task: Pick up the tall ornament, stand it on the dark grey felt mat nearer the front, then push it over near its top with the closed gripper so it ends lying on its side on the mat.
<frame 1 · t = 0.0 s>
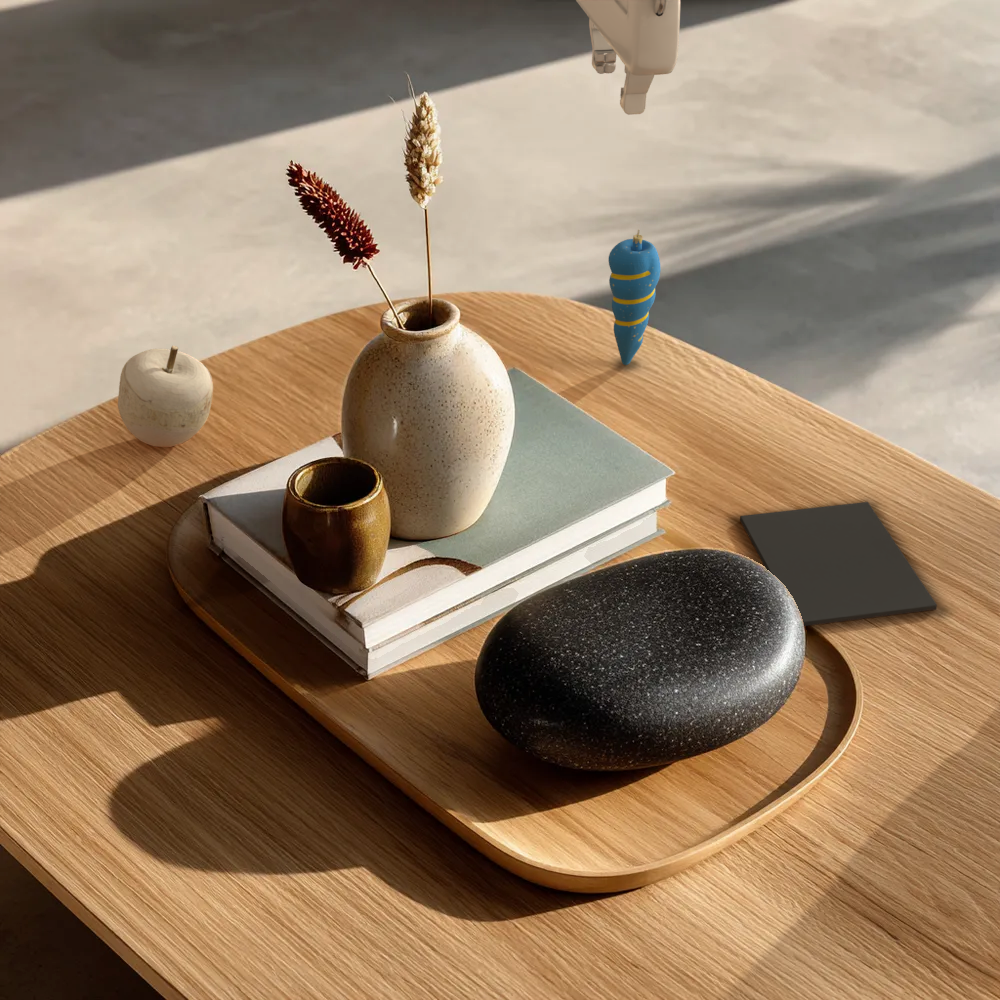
hand: (617, 90, 113), 31 cm above the table, tool pointing down, fingers open, 8 cm apart
decorative object: (173, 440, 126), on the table
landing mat: (833, 563, 113), on the table
ornament: (625, 365, 138), on the table
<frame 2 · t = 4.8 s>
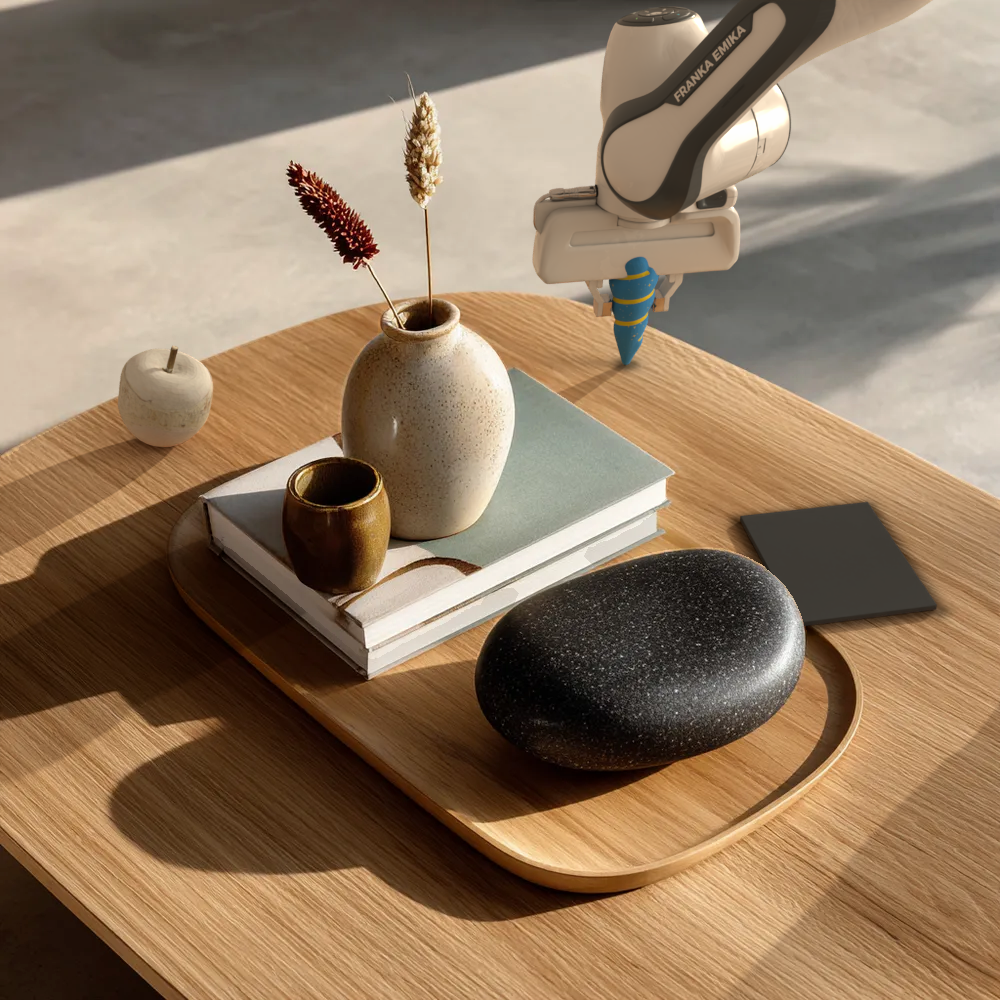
hand: (630, 311, 134), 6 cm above the table, tool pointing down, fingers closed on ornament, 4 cm apart
ornament: (625, 364, 138), on the table, touching gripper
everything else where it was.
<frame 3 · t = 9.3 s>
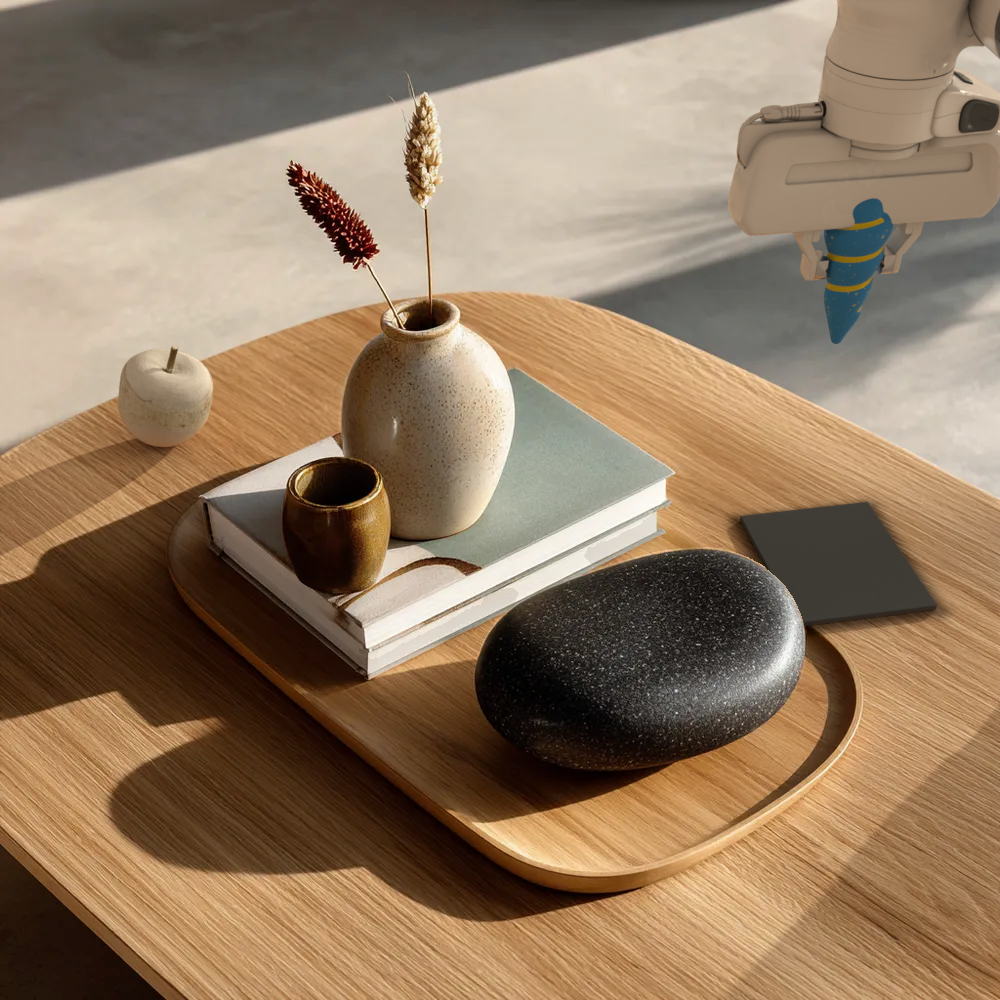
hand: (849, 273, 103), 24 cm above the table, tool pointing down, fingers closed on ornament, 4 cm apart
ornament: (835, 343, 107), point 18 cm above the table, touching gripper
everything else where it was.
when the fingers open (6 cm above the table, at t = 13.8 s): ornament stays where it is, resting on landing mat.
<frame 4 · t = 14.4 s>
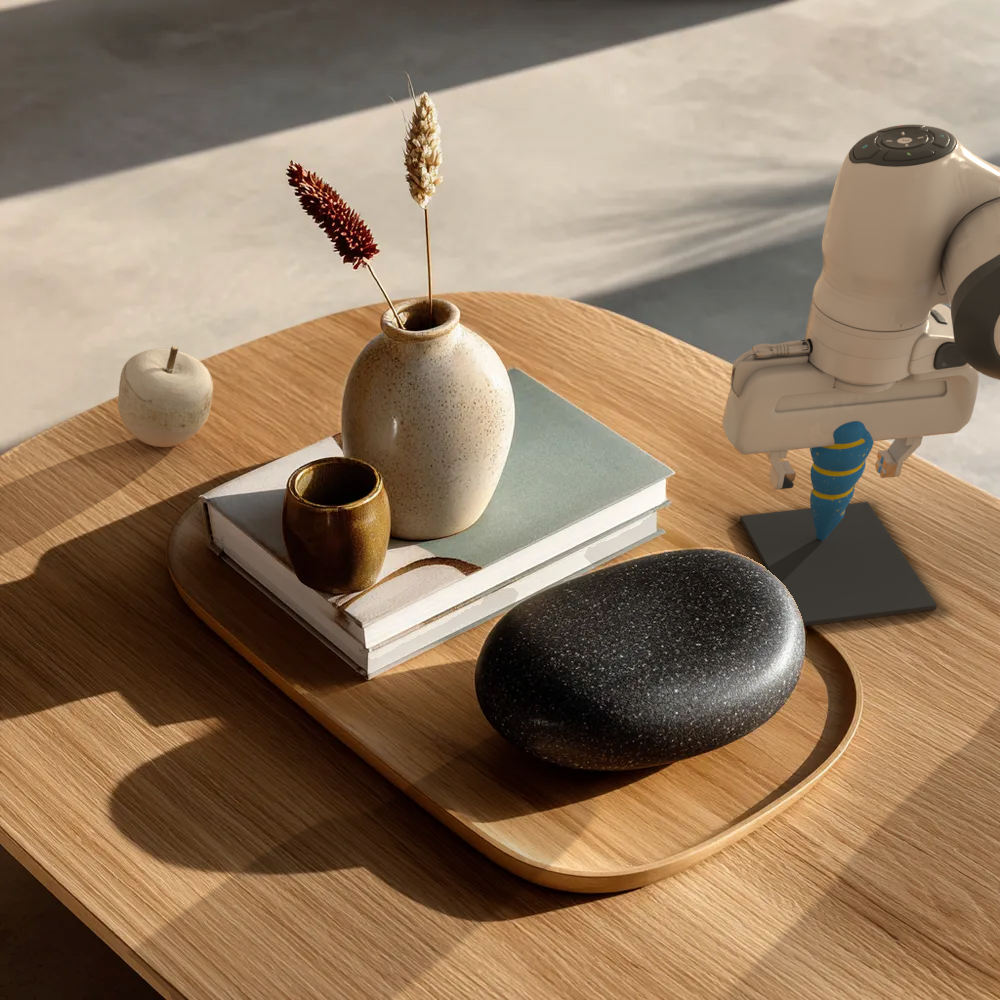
hand: (833, 479, 112), 7 cm above the table, tool pointing down, fingers open, 8 cm apart
ornament: (820, 539, 115), resting on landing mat
everything else where it was.
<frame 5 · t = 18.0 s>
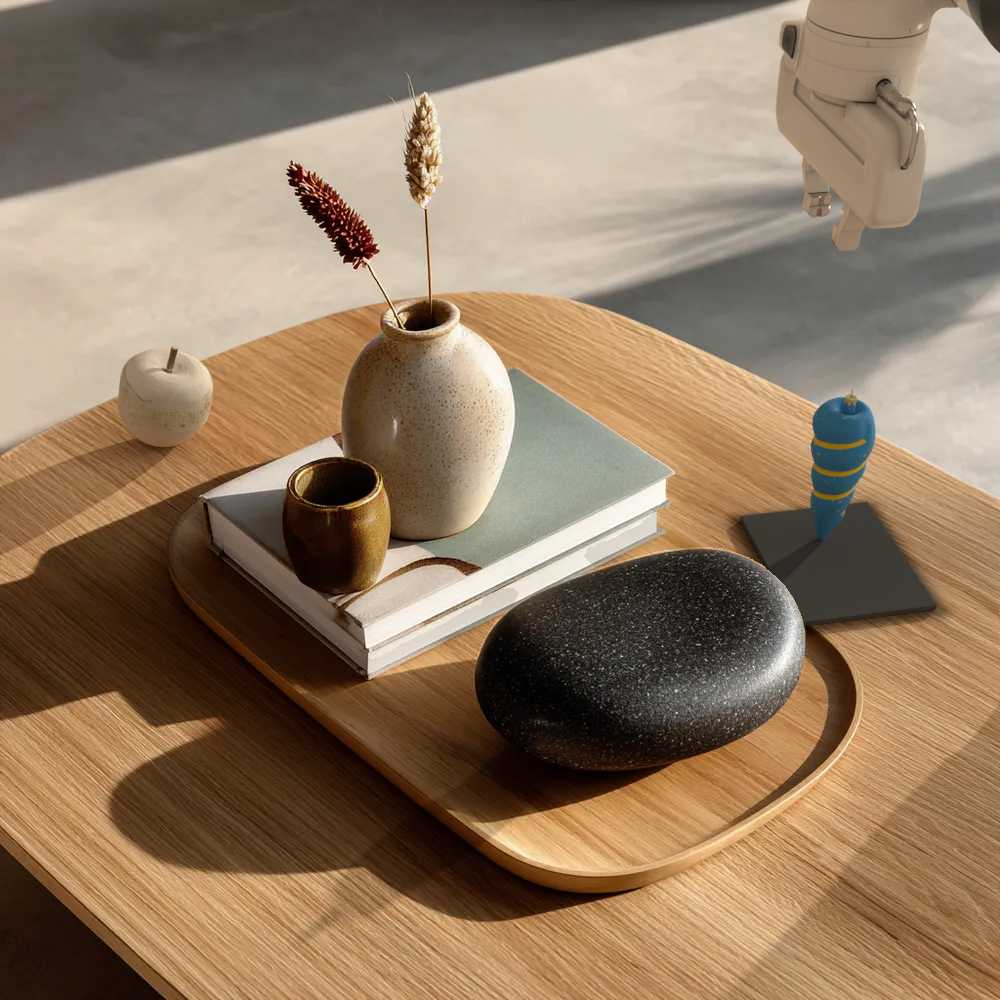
hand: (829, 229, 107), 25 cm above the table, tool pointing down, fingers open, 5 cm apart
nothing on the table moved.
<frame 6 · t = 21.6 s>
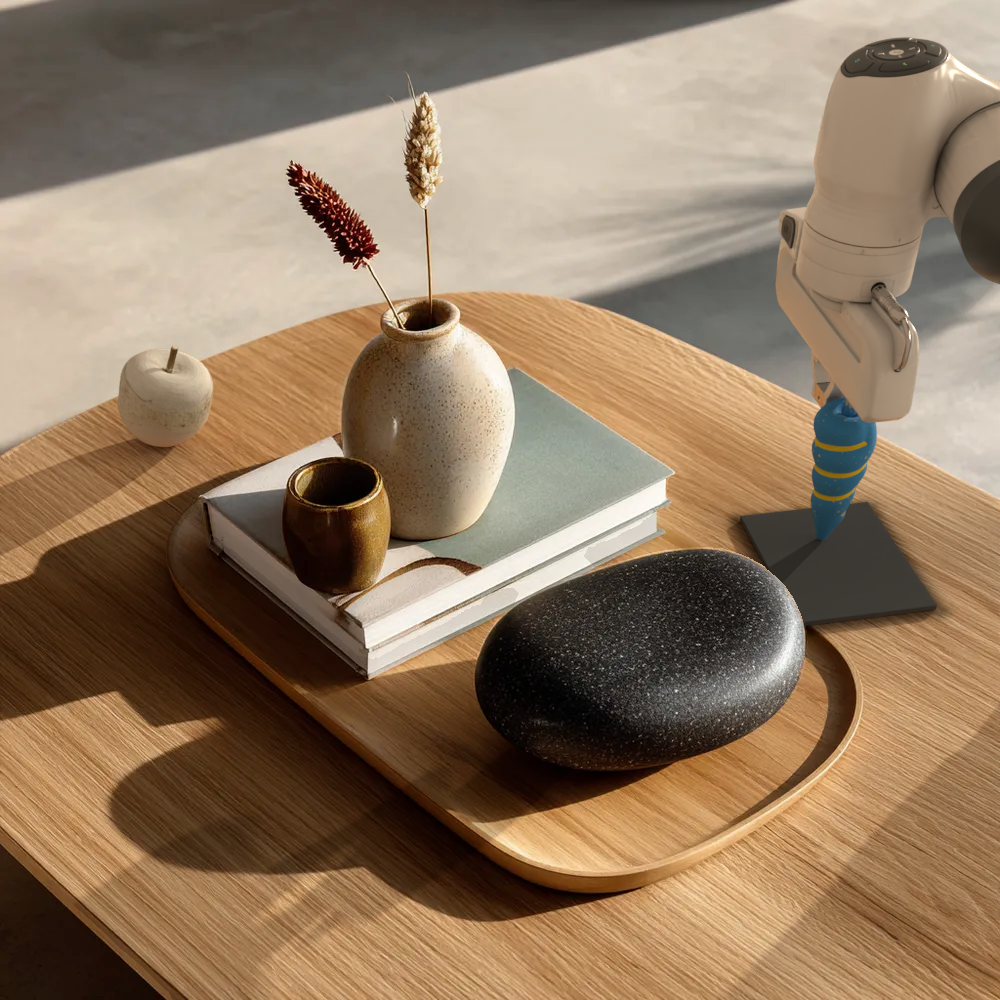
hand: (826, 405, 111), 12 cm above the table, tool pointing down, fingers closed
ornament: (820, 539, 115), resting on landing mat, touching gripper
everything else where it was.
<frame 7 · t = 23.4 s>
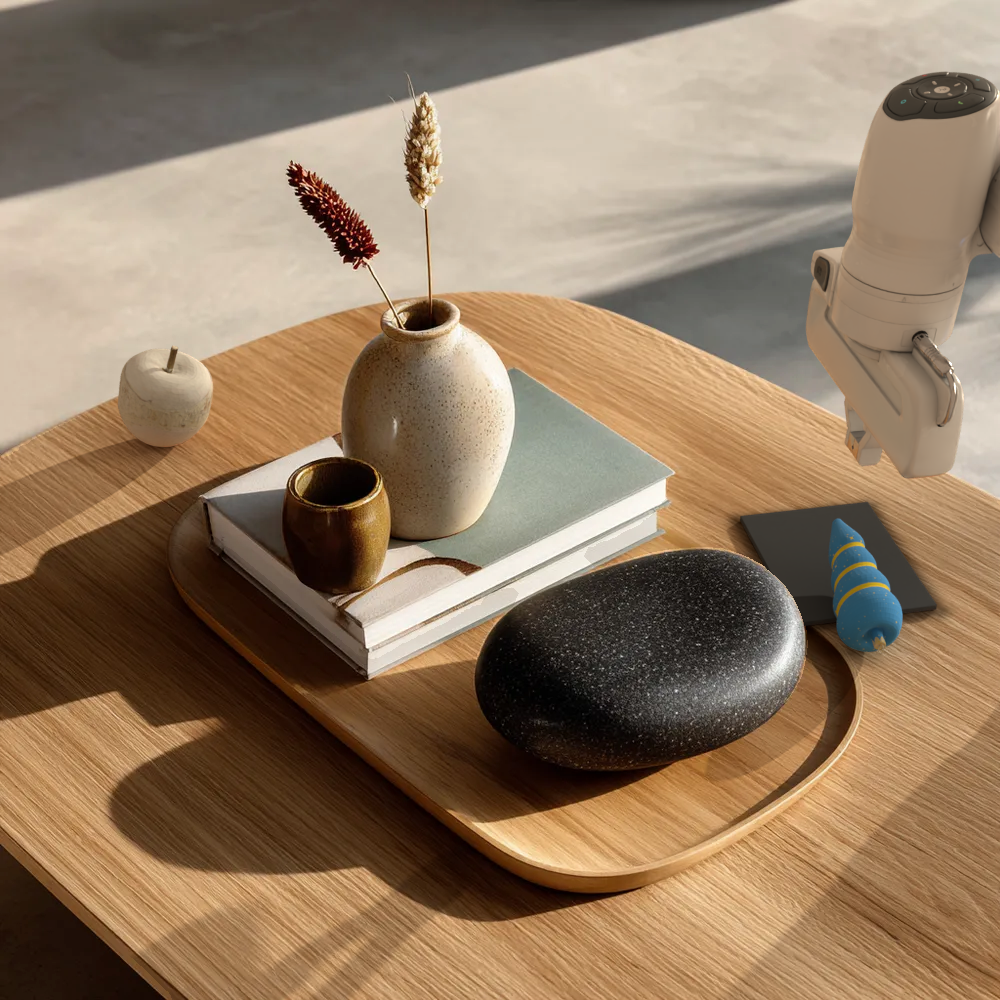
hand: (861, 455, 106), 12 cm above the table, tool pointing down, fingers closed
ornament: (836, 517, 113), point 4 cm above the table, touching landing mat
everything else where it was.
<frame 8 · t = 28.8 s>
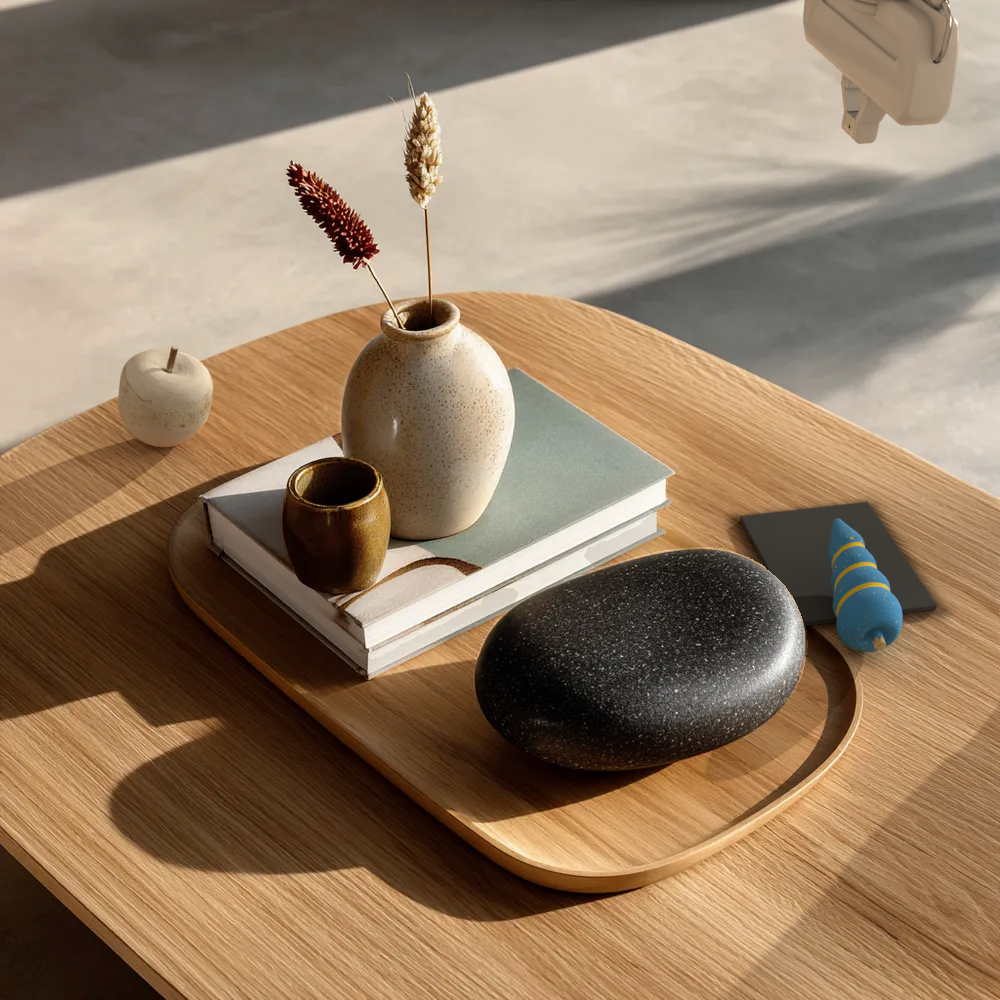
hand: (857, 136, 107), 31 cm above the table, tool pointing down, fingers closed
nothing on the table moved.
at the end: ornament tilted 95°; ornament inside the target area on the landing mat (2.8 cm from its centre), point 3.5 cm above the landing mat's base; the gripper is holding nothing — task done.
